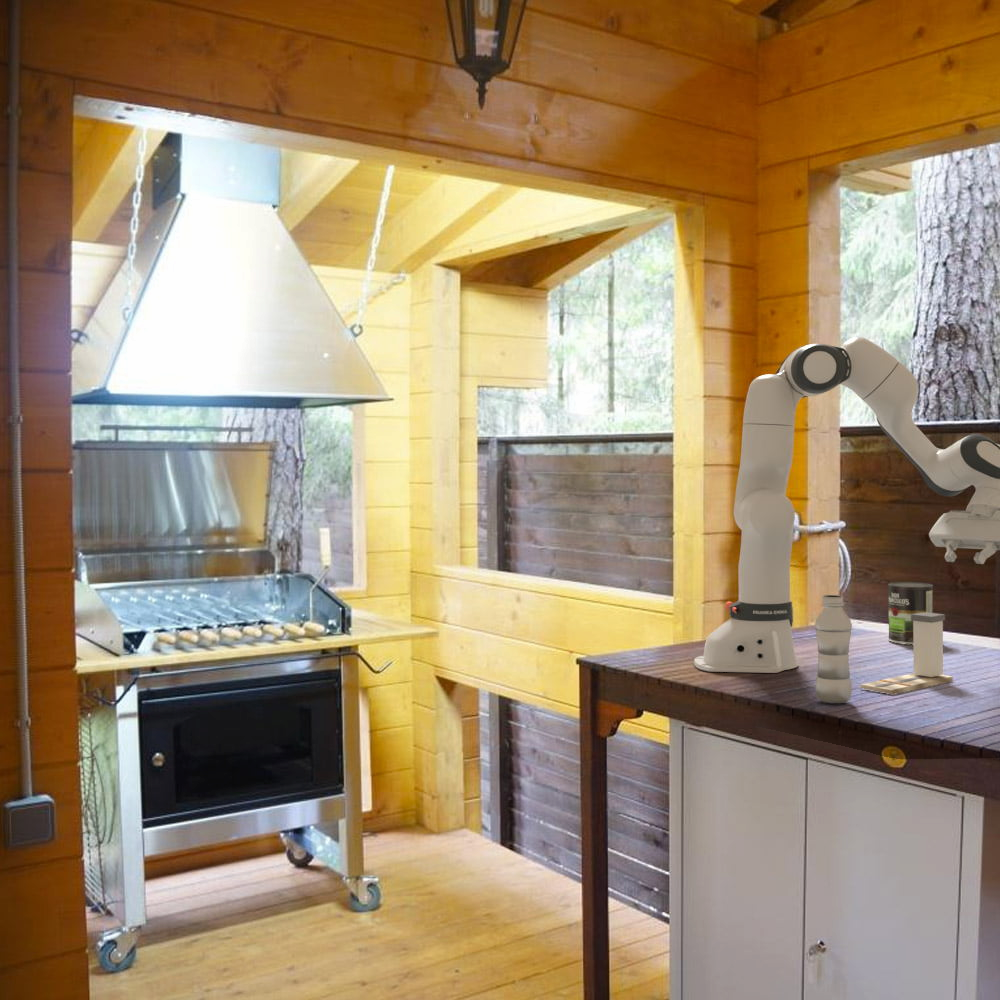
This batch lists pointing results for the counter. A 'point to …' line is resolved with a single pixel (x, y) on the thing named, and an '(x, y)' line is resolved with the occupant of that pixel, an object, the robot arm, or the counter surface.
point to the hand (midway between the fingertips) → (963, 560)
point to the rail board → (906, 683)
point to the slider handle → (928, 643)
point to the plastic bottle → (833, 652)
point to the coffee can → (907, 608)
